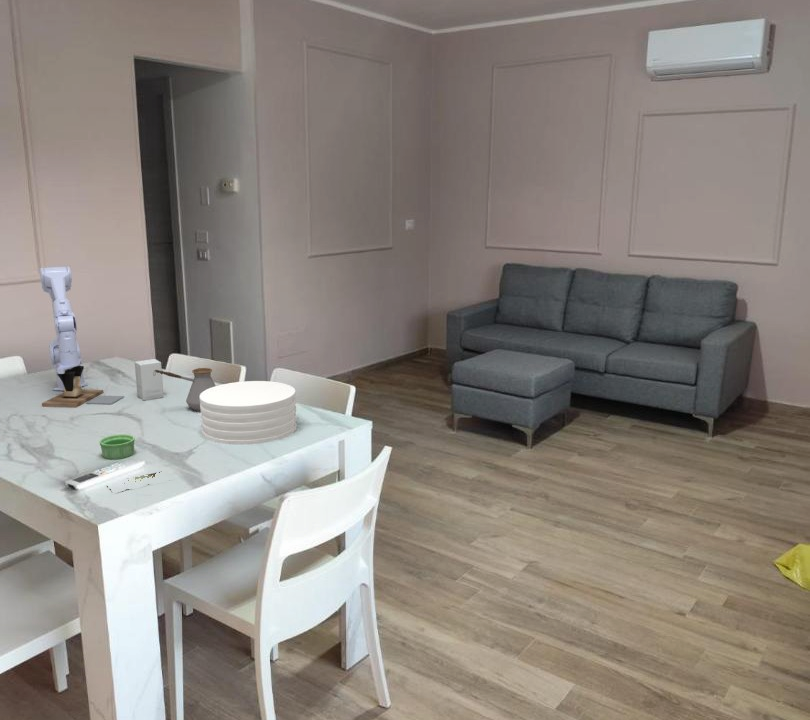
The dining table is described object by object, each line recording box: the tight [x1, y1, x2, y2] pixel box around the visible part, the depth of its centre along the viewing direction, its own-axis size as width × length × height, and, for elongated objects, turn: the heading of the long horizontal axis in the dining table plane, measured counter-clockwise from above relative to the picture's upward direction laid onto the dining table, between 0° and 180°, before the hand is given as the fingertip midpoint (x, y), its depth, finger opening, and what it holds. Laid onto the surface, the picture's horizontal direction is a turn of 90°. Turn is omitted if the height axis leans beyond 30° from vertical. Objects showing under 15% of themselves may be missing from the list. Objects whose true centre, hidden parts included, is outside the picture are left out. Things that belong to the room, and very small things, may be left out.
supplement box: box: [134, 358, 165, 401], centre depth 256 cm, size 7×7×13 cm
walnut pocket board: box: [41, 388, 104, 408], centre depth 255 cm, size 18×12×1 cm, turn 173°
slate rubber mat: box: [85, 395, 125, 405], centre depth 254 cm, size 9×9×1 cm
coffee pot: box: [153, 367, 217, 412], centre depth 240 cm, size 21×12×15 cm, turn 122°
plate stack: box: [199, 380, 298, 445], centre depth 222 cm, size 28×28×12 cm
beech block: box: [63, 376, 82, 396], centre depth 254 cm, size 4×4×6 cm
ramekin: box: [99, 434, 136, 460], centre depth 201 cm, size 9×9×4 cm
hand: (72, 389), depth 254 cm, fingers closed on beech block, 4 cm apart
